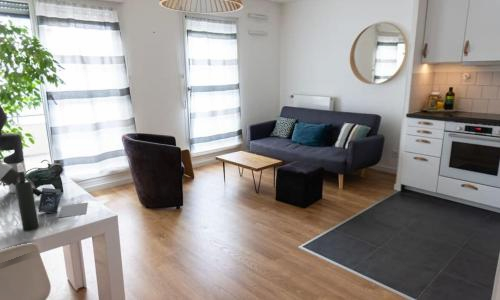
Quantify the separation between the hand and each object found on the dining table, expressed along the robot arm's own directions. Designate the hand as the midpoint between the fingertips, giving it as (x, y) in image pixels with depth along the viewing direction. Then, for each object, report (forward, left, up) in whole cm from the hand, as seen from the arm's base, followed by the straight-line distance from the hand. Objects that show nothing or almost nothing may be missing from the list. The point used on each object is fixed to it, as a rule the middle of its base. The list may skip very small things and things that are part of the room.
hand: (40, 194), depth 158 cm
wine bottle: (+15, -2, -10) cm, 18 cm away
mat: (+1, +13, -10) cm, 16 cm away
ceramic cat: (-25, -3, -10) cm, 27 cm away
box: (0, +2, -9) cm, 9 cm away
